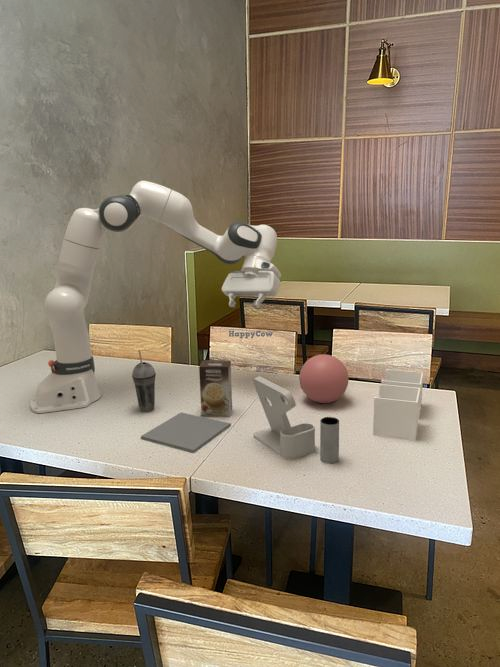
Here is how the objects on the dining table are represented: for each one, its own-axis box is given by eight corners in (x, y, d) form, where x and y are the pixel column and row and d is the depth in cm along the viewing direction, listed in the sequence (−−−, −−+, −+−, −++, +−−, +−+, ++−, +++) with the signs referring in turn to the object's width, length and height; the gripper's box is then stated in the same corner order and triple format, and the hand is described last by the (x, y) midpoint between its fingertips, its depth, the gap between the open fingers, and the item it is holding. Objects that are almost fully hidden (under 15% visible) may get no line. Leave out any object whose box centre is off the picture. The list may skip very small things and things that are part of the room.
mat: (181, 414, 151) (180, 412, 151) (230, 425, 142) (230, 423, 142) (141, 438, 136) (140, 436, 136) (193, 452, 127) (193, 450, 127)
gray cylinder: (318, 455, 124) (318, 417, 121) (336, 453, 124) (336, 416, 122) (322, 464, 119) (322, 425, 117) (340, 462, 120) (341, 423, 117)
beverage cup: (163, 407, 157) (158, 347, 152) (149, 415, 151) (144, 353, 146) (144, 403, 160) (139, 345, 155) (130, 412, 154) (124, 351, 149)
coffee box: (200, 416, 149) (197, 366, 145) (204, 408, 155) (201, 359, 151) (230, 417, 148) (228, 366, 144) (233, 408, 154) (231, 359, 150)
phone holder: (319, 450, 126) (320, 384, 122) (287, 462, 121) (286, 393, 117) (281, 426, 140) (280, 367, 136) (250, 436, 135) (248, 374, 131)
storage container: (415, 441, 130) (417, 402, 127) (373, 435, 134) (374, 397, 131) (421, 405, 152) (423, 372, 149) (384, 401, 156) (386, 369, 154)
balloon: (360, 393, 163) (361, 348, 160) (335, 414, 147) (336, 365, 144) (318, 385, 172) (319, 343, 168) (290, 404, 156) (290, 358, 152)
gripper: (225, 265, 166) (212, 301, 162) (277, 263, 155) (265, 302, 150) (234, 275, 171) (222, 310, 166) (285, 274, 160) (274, 311, 155)
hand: (243, 306), depth 158 cm, fingers open, 8 cm apart
